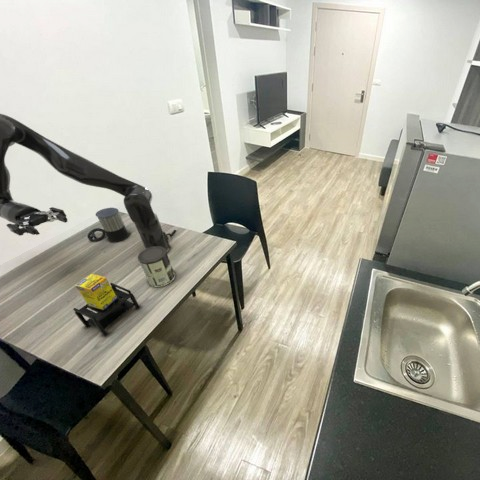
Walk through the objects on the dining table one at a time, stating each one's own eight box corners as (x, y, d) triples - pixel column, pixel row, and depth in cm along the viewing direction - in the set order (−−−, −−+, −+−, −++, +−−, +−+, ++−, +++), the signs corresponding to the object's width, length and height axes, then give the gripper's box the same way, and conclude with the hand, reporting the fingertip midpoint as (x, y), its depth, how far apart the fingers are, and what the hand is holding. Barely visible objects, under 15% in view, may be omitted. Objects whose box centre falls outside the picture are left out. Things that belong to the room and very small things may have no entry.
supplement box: (104, 311, 90) (89, 289, 83) (89, 307, 90) (74, 285, 84) (118, 298, 94) (106, 276, 88) (104, 294, 95) (91, 273, 89)
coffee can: (164, 267, 120) (155, 243, 111) (180, 275, 116) (171, 251, 108) (143, 281, 112) (131, 256, 104) (159, 290, 109) (148, 265, 100)
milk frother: (132, 237, 135) (121, 212, 126) (95, 250, 125) (81, 224, 116) (122, 225, 142) (111, 201, 133) (87, 237, 132) (72, 212, 124)
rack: (121, 299, 104) (111, 282, 98) (140, 307, 101) (131, 290, 95) (85, 326, 93) (71, 309, 87) (105, 336, 91) (92, 319, 85)
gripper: (-12, 214, 86) (19, 227, 82) (38, 197, 97) (68, 207, 93) (3, 232, 91) (33, 245, 87) (49, 214, 102) (78, 224, 98)
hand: (51, 225), depth 90 cm, fingers open, 8 cm apart
